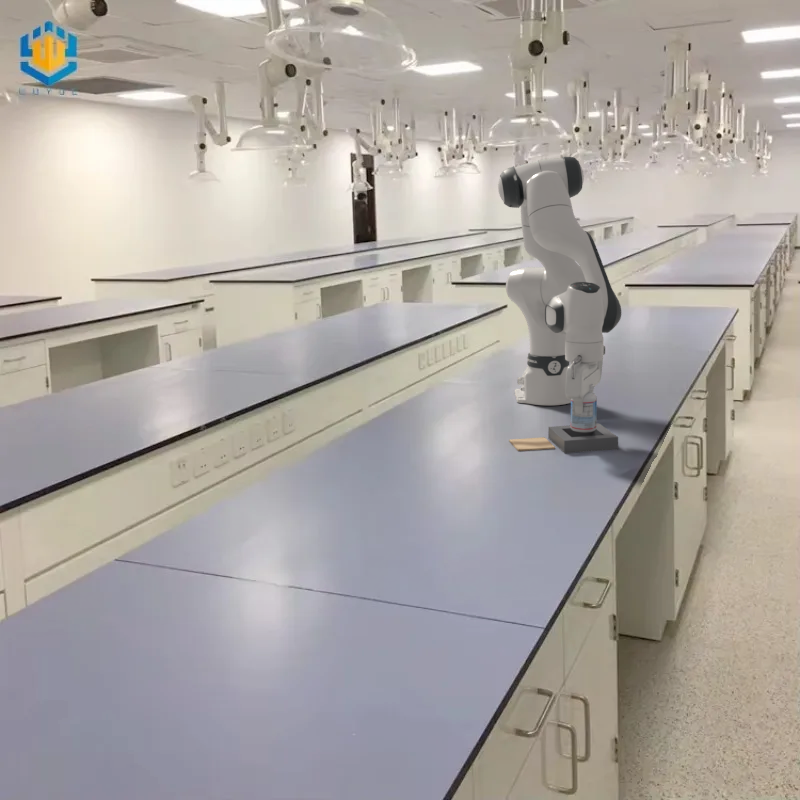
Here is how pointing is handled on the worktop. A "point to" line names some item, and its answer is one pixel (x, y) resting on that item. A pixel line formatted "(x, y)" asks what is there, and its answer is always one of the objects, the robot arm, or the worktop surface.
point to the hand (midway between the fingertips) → (583, 409)
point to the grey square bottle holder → (582, 439)
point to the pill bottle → (585, 413)
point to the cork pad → (531, 444)
